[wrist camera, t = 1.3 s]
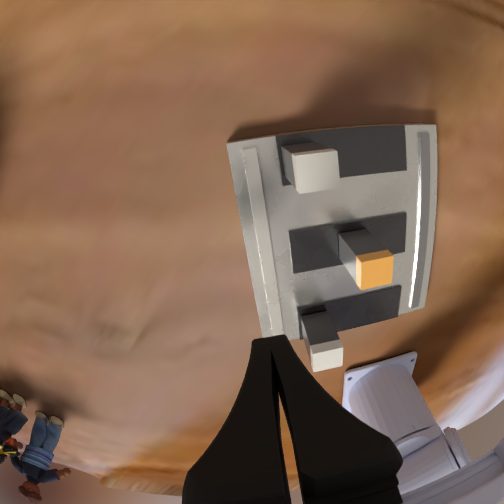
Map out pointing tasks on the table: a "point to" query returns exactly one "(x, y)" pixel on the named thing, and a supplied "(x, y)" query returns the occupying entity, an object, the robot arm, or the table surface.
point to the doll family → (30, 446)
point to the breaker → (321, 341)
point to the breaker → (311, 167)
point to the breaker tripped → (365, 259)
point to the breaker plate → (337, 223)
